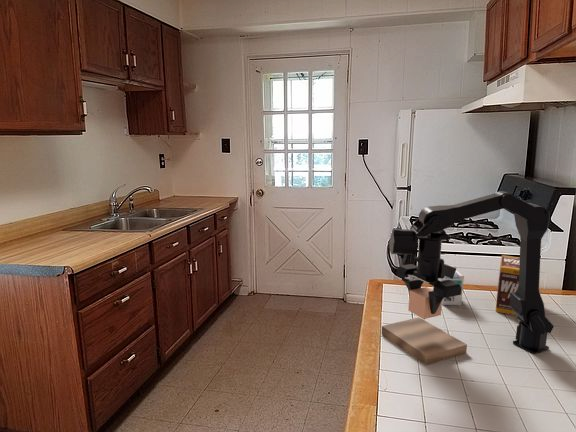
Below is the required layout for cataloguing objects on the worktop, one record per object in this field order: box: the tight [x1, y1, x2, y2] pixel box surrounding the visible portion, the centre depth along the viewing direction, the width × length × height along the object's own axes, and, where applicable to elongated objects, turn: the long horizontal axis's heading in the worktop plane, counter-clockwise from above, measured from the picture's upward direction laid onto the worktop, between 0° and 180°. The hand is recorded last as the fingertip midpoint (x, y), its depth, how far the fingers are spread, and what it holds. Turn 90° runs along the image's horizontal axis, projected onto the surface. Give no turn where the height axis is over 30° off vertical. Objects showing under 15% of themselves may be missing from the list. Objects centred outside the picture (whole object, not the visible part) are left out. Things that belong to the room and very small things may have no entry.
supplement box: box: [495, 255, 520, 316], centre depth 139 cm, size 10×15×16 cm
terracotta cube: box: [407, 286, 443, 320], centre depth 113 cm, size 6×6×6 cm
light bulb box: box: [432, 265, 465, 306], centre depth 145 cm, size 11×7×11 cm, turn 179°
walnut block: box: [381, 316, 468, 366], centre depth 115 cm, size 18×14×3 cm
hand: (424, 309), depth 114 cm, fingers closed on terracotta cube, 6 cm apart
